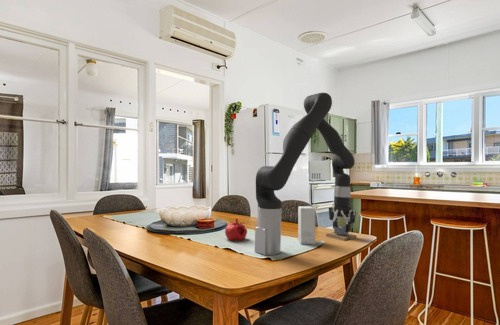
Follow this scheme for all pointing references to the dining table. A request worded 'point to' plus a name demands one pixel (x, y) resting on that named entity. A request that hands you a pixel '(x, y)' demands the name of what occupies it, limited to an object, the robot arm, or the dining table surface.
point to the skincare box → (306, 224)
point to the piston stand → (340, 236)
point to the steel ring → (340, 230)
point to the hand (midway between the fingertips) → (341, 230)
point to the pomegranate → (235, 231)
